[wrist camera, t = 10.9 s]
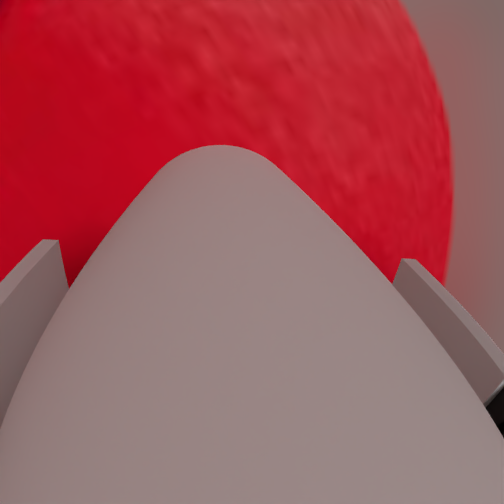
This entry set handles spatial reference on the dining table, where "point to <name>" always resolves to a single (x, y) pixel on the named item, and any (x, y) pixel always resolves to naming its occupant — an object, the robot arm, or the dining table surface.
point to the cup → (241, 364)
